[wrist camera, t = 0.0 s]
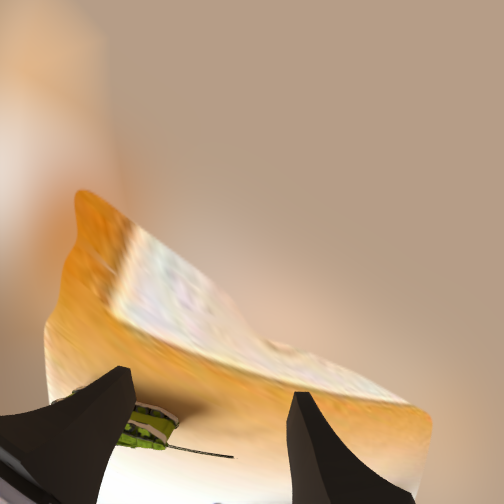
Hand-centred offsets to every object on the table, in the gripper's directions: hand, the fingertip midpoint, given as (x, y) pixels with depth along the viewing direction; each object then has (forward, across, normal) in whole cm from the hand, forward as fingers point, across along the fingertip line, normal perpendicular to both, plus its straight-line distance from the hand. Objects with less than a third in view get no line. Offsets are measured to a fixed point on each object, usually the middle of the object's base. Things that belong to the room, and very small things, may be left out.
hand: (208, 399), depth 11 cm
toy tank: (+9, +7, +14) cm, 18 cm away
